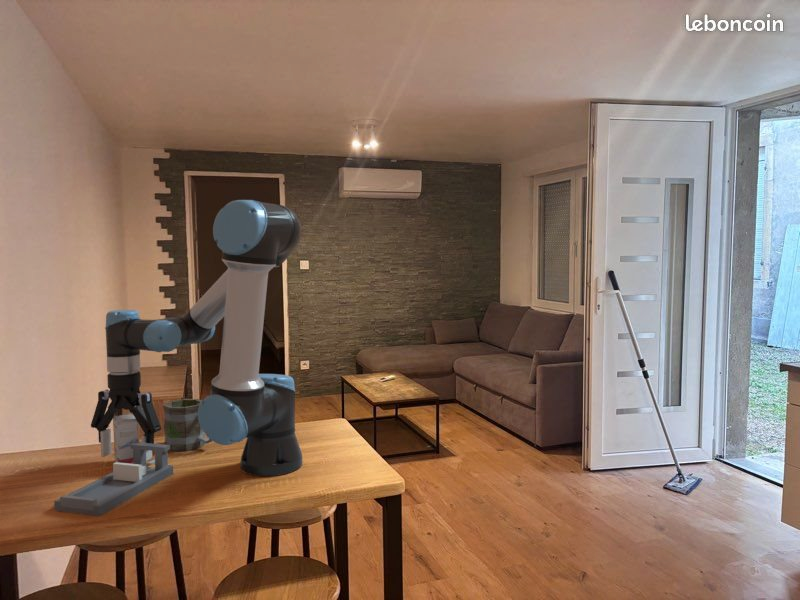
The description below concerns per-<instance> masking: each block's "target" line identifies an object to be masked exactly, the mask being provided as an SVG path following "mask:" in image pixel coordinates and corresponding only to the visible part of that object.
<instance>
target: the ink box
mask: <svg viewBox="0 0 800 600" xmlns="http://www.w3.org/2000/svg"><path fill="white" fill-rule="evenodd" d="M112 422H113V423H112V425H113V428H112V429H113V445H114V446H113V448H114V449H113V450H114V451H113V452H114V463H116V462H119V463H129V464H130V463H132V462H134V460H133V449H130V444H133V443H135V442H140V439H139V437H140V436H139V423H138V422H137V420H136V418H135V417H134V415H133V413H129V414H121V415H115V416H114V417H113V419H112Z"/></svg>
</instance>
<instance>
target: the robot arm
mask: <svg viewBox="0 0 800 600" xmlns="http://www.w3.org/2000/svg"><path fill="white" fill-rule="evenodd" d="M212 235H213V239H214V242H216V245H217V247H218V249H220V250H221V251H222V253H221V261H222V262H223V263H224V265H225V266H226V267H227V269H226V271H224V272H223V273H222V275H220V277H219V278H218V279H217V280H216V281H215V282H214V283H213V284H212V285H211V287H209V289H208V290H207V291H206V292H205V293H204V294H203V295H202V296H201V297H200V298H199V299H198V300H197V302H195V304H194V305H193V306H192V307H190V309H189V310H188V311H187V312H186V313H184V315H182V316H181V315H180V316H174V317H166V318H157V319H141V318H140V312H139V311H138V310H136V309H135V310H134V309H117V310H110V311H108V312H107V313H106V315H105V316H106V317H105V327H104V329H105V344H106V372H108V374H107V375H106V376H107V387H108V389H103V390H101V391H99V392H97V398H98V399H97V404H96V406H95V410H94V413H93V416H92V420H91V424H90V427H91V428H92V429H94V428H95V429H96V430H97V431H98V443H100V456H101V458H105V457H107V456H109V455H112V436H111V435H112V430H111V428H109V427H110V424H111V422H113V417H114V416H116V415H117V412H118V411H119V410H126V411H127V410H128V411H129V413H130V414H133V415H134V417H135V418H136V420H137V422H138V426H140V428H141V430H142V431H143V434H141V443H152V444H155V433H157V432H160V431H161V430H162V426H161V423H160V420H159V417H158V415H157V412H156V409H155V406H154V403H153V398H152V397H153V394H152V393H151V392H150V391H149V392H147V393H142V392H141V391H140V387H141V384H142V379H141V378H142V377H141V375H142V374H141V371H139V370H140V369H141V355H140V354H141V351H149V352H155V353H162V352H163V353H164V352H165V353H168V352H169V353H170V352H172V351H174V350H175V349H176V348H178V347H183V346H188V345H194V344H197V345H198V344H201V343H203V342H207V341H209V340H210V339H212V338H213V337H214V335H215V332H216V331H215V330H216V325H218V323H219V322H221V320H223V328H222V337H221V338H222V340H221V341H222V342H221V350H220V364H219V372H218V375H216V376H215V377H213V378H212V380H211V384H210V385H211V386H210V395H207V396H205V397H204V399H203V400H202V402H201V403H200V405H199V408H198V420H199V424H200V426H201V429H202V430H203V431H204V432H205V436H206V438H207V439H208V440H209V439H211V440H212V442H214V443H215V444H218V445H221V446H222V445H223V446H228V445H232V444H235V443H240V442H243V440H246V441H245V444H244V448H243V451H242V454H241V457H240V469H241V471H242V472H243V473H245V474H247V475H252V476H260V477H269V476H270V477H271V476H279V475H280V476H281V475H284V474H285V475H286V474H289V473H292V472H294V471H296V470H298V469H300V468H301V467H302V466H303V453H302V452H303V451H302V450H301V447H300V443H299V441H298V438H297V436H296V388H295V380H294V378H293V377H292V376H290V375H286V374H280V373H279V374H277V373H260V365H261V364H260V363H261V352H262V345H263V344H262V343H263V333H264V332H263V331H264V322H265V321H264V320H265V311H266V302H267V301H266V300H267V289H268V280H269V272H270V271H271V270H273V269H274V268H278V267H281V265H282V264H283V263H284V262H285V261H286V260H287V259H288V258H289V257H290V256H291V255H292V254H293V253H294V251H295V250H296V248H297V247H298V245H299V243H300V241H301V237H302V225H301V222H300V220H299V218H298V216H297V214H295V212H294V211H293V210H292V209H290V208H289V207H287V206H285V205H282V204H279V203H268V202H264V201H263V202H262V201H258V200H254V199H237V200H232V201H229V202H228V203H227V204H226V205H224V206H223V207H222V208H221V209H220V210H219V211H218V212H217V214H216V216H215V219H214V222H213V227H212ZM109 401H110V403H109ZM108 404H109V405H108ZM152 458H153V451H151V450H146V462H147V461H148V460H151V459H152Z"/></svg>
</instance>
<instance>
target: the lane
mask: <svg viewBox="0 0 800 600" xmlns="http://www.w3.org/2000/svg"><path fill="white" fill-rule="evenodd" d="M130 449H133V460H134V462H132V463H130V464H139V465H144V464H146V463H147V461H146V450H151V451H152V452H154V459H155V463H154V466H155V467H150V466H148V467H146V471H147V474H145V475H143V476H142V479H141V480H139V481H138V482H132V481H123V480H114V476H113V472H110V473H108V474H106V475H105V476H102V477H100V478H99V479H97V480H94V481H92V482H90V483H88V484H86V485H84V486H81V487H80V488H78V489H76V490H73V491H71V492H69V493H68V494H63V495H61V496H60V497H59V498H58V499H55V500H53V501H54V503H53V504H54V505H53V506H54V511H56V512H58V511H59V512H64V513H72V514H73V513H74V514H80V515H87V516H95V517H96V516H97V517H101V516H102V515H104V514H106V513H108V512H110V511H111V510H113V509H115V508H117V507H118V506H120V505H122V504H124V503H126V502H127V501H128V500H130V499H132V498H135V496H137V495H139V494H141V493H142V492H144V491H146V490H147V489H149V488H151V487H153V486H155V485H157V484H158V483H160V482H162V481H163V480H165V479H167V478H168V477H170V476H172V475H174V465H173V464H172V465H169V463H168V462H169V461H168V458H169V457H168V450H169V449H170V445H165V444H163V443H154V444H152V443H142V441H141V442H140V441H139V442H135V443H133V444H130Z"/></svg>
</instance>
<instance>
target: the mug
mask: <svg viewBox="0 0 800 600" xmlns="http://www.w3.org/2000/svg"><path fill="white" fill-rule="evenodd" d="M202 401H203V400H202V399H198V398H181V399H175V400H170V401H168V402H166V403H164V404H162V405H163V407H162V408H163V413H164V415H163V416H164V417H163V419H164V420H163V432H164V445H170V449H169V450H167V452H171V453H172V452H173V453H186V452H190V451H195V450H199V449H201V448H203V447H204V446H205V445H206V444H211V443H212V442H213V441H212V440H211V439H209V438H207V437H205V436H206V434H205V432H204V431H203V430H202V429H201V426H200V424H199V420H198V408H199V405H200V403H201V402H202Z"/></svg>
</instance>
